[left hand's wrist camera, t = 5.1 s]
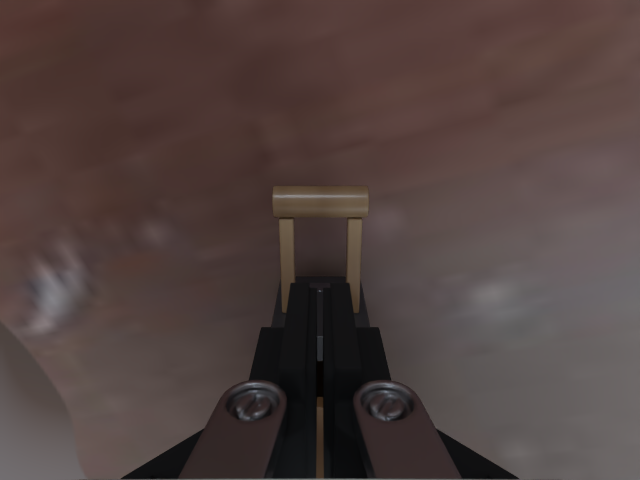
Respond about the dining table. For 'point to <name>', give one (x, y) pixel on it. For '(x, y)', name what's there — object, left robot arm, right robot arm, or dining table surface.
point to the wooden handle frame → (353, 207)
